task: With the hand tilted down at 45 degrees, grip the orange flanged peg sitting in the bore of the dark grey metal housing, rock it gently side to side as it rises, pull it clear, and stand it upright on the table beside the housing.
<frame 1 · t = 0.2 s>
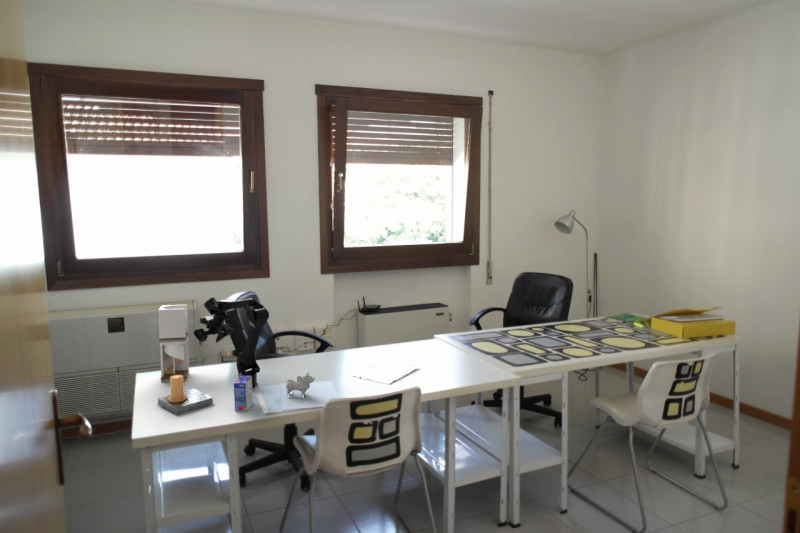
hand: (208, 344, 261), 15 cm above the table, tool tilted 35°, fingers open, 9 cm apart
sketchbook: (386, 373, 270), on the table
ink cartridge box: (243, 407, 220), on the table
grey dog figurine: (300, 396, 234), on the table
orange flanged peg: (177, 406, 219), resting in housing
white dispenser: (175, 378, 255), on the table
housing: (185, 404, 221), on the table
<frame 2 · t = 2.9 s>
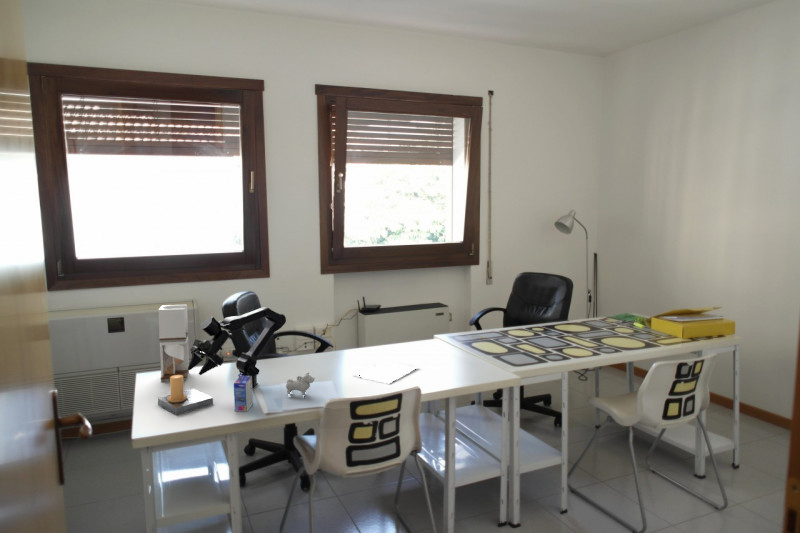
hand: (193, 372, 223), 13 cm above the table, tool tilted 45°, fingers open, 9 cm apart
nothing on the table moved.
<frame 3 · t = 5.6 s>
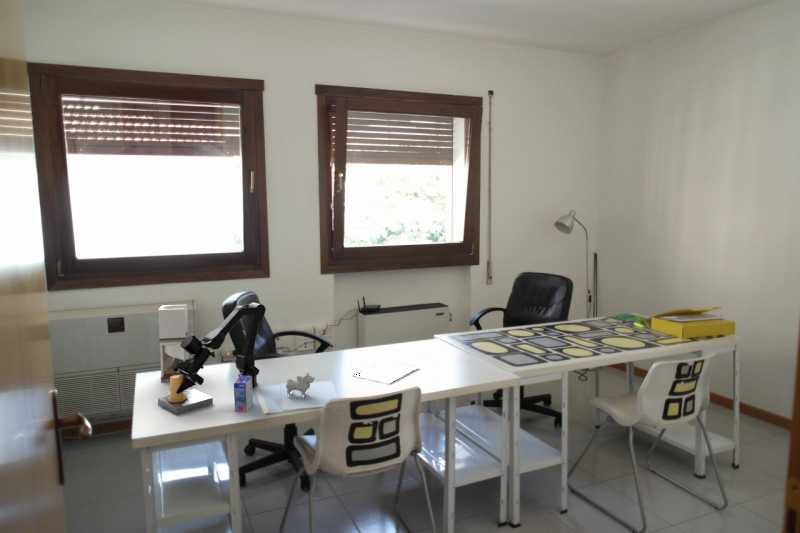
hand: (173, 391, 217), 7 cm above the table, tool tilted 45°, fingers closed on orange flanged peg, 5 cm apart
orange flanged peg: (177, 406, 219), resting in housing, touching gripper
everything else where it was.
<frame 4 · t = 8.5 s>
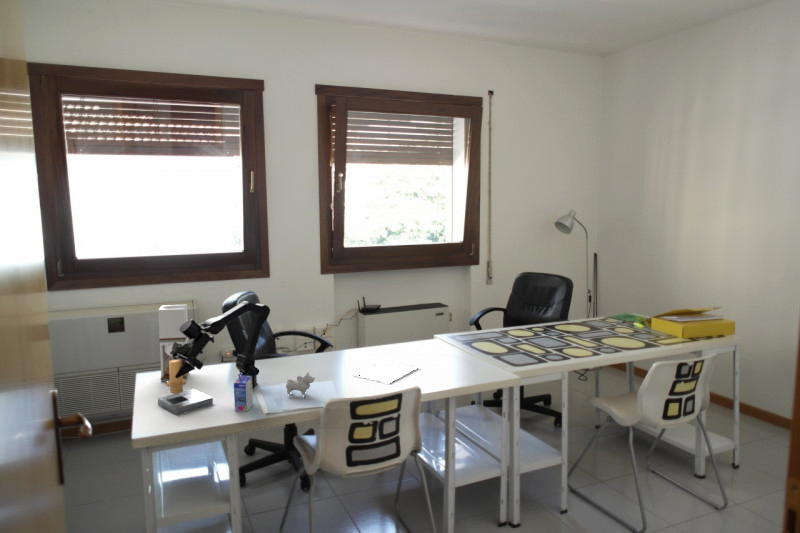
hand: (172, 376, 216), 13 cm above the table, tool tilted 45°, fingers closed on orange flanged peg, 5 cm apart
orange flanged peg: (176, 391, 218), point 7 cm above the table, touching gripper
everything else where it was.
when the fingers open (8 cm above the table, at t = 11.4 s): orange flanged peg drops 1 cm, on the table.
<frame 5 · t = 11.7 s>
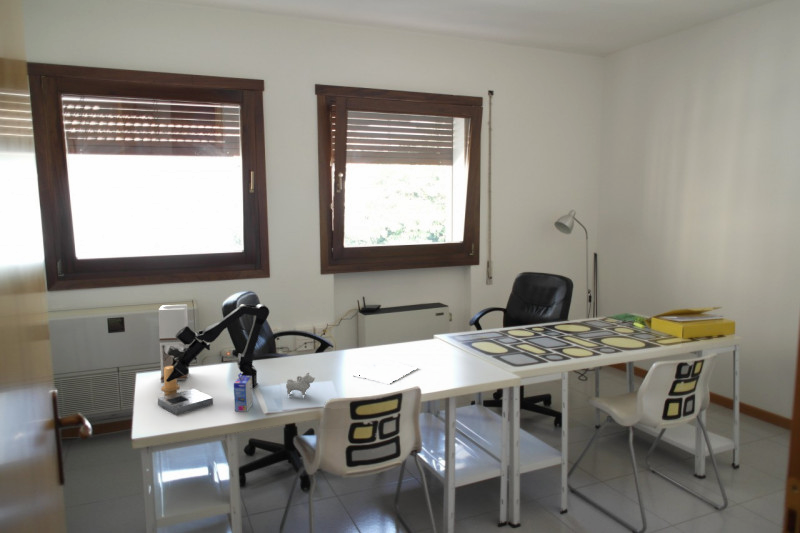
hand: (166, 378, 229), 8 cm above the table, tool tilted 45°, fingers open, 9 cm apart
orange flanged peg: (170, 396, 231), on the table
everything else where it was.
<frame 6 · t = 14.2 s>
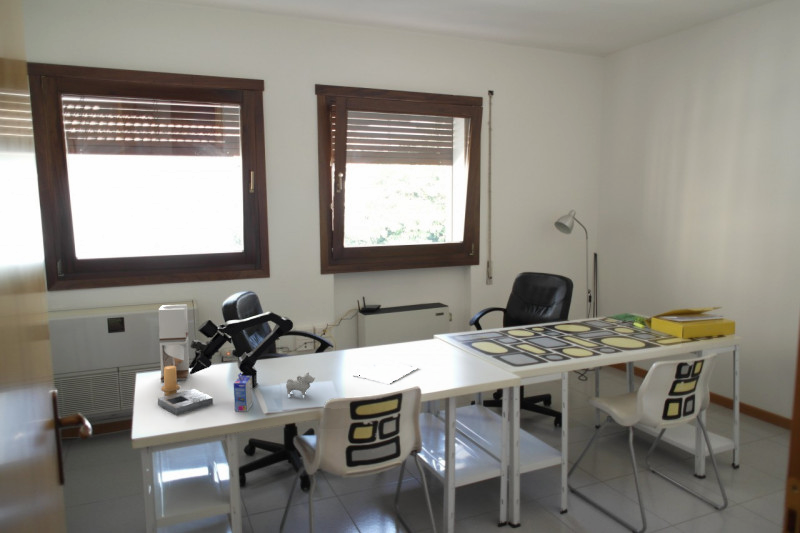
hand: (189, 370, 233), 11 cm above the table, tool tilted 45°, fingers open, 9 cm apart
nothing on the table moved.
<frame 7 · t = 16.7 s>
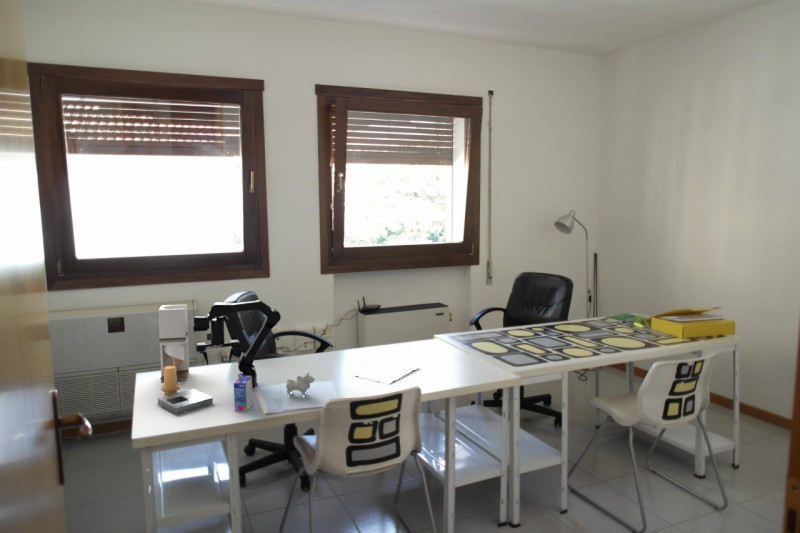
hand: (218, 363, 239), 12 cm above the table, tool pointing down, fingers open, 9 cm apart
nothing on the table moved.
at the end: orange flanged peg 0.1 cm from the target spot, on the table; orange flanged peg tilted 0°; the gripper is holding nothing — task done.
